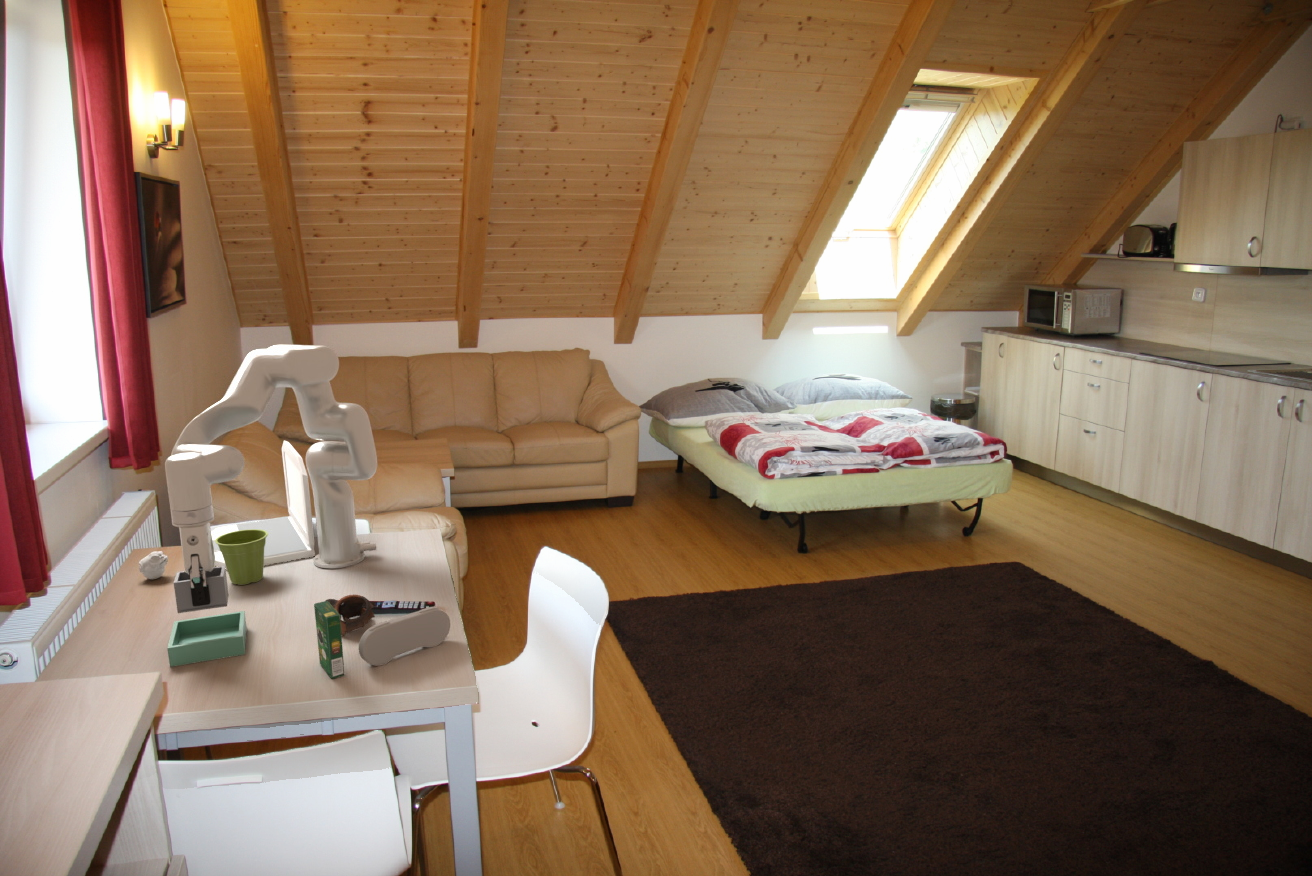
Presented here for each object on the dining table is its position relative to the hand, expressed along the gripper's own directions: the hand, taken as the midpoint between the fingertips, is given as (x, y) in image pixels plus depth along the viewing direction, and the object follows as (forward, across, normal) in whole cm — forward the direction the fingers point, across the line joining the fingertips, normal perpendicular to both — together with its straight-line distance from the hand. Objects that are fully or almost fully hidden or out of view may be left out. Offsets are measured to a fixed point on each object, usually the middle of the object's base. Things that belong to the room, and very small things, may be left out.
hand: (202, 597), depth 187 cm
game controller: (+11, -19, -38) cm, 44 cm away
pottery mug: (+11, -1, -28) cm, 30 cm away
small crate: (+1, 0, 0) cm, 1 cm away
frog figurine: (+11, +47, +15) cm, 51 cm away
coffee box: (+11, -21, -23) cm, 33 cm away
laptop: (+11, +63, -8) cm, 64 cm away
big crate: (+11, 0, 0) cm, 11 cm away
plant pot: (+11, +37, -6) cm, 39 cm away
